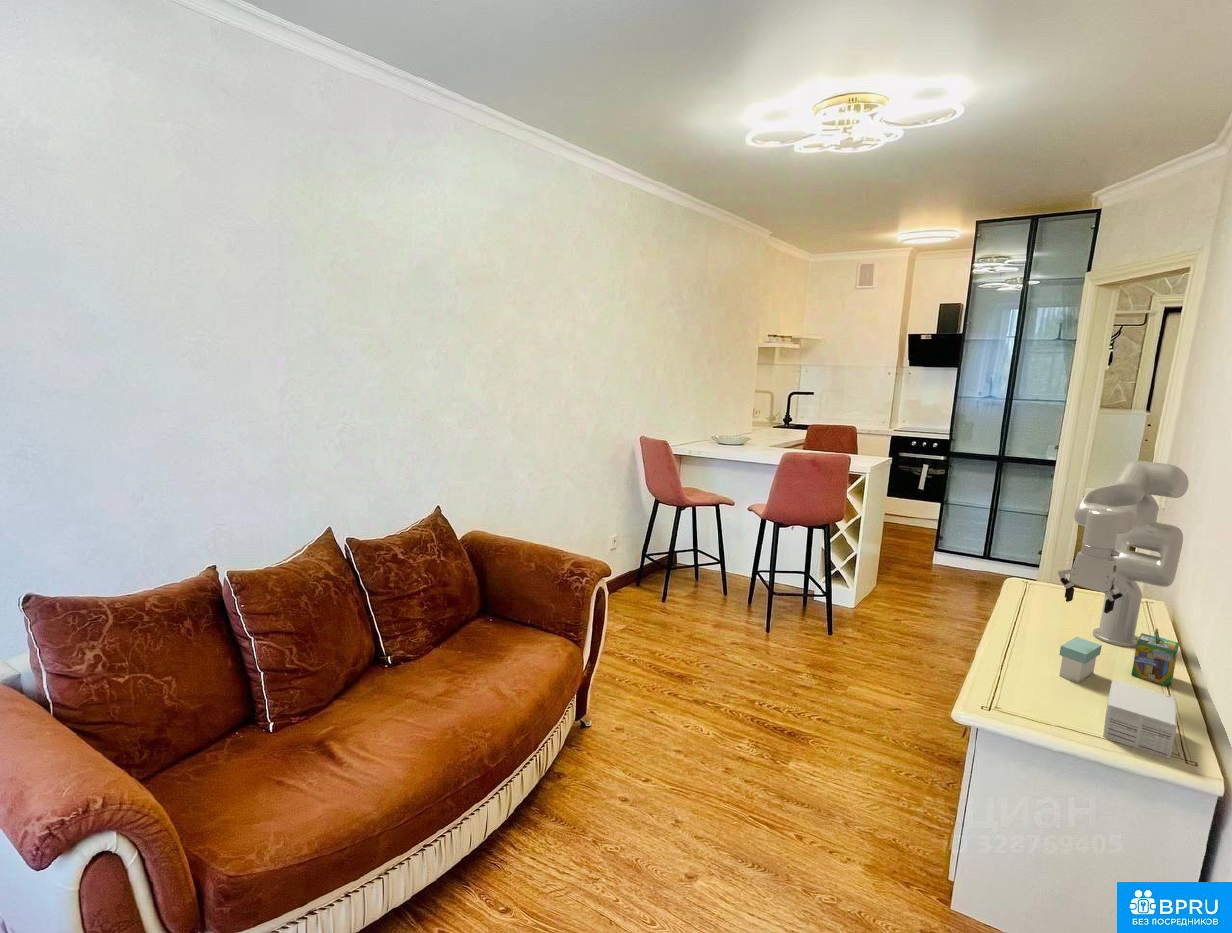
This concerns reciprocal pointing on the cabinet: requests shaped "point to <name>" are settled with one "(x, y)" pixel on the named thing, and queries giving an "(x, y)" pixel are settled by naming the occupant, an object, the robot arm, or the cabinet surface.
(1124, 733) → the supplement box
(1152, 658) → the chalk box
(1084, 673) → the box
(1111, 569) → the robot arm
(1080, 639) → the lid
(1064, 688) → the cabinet surface
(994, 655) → the cabinet surface
